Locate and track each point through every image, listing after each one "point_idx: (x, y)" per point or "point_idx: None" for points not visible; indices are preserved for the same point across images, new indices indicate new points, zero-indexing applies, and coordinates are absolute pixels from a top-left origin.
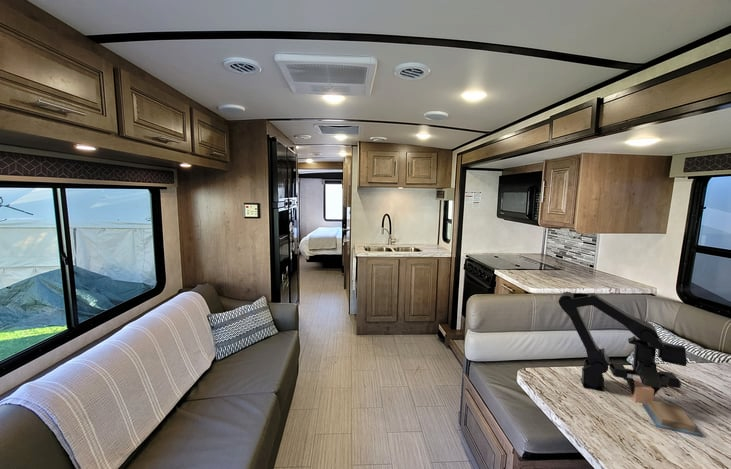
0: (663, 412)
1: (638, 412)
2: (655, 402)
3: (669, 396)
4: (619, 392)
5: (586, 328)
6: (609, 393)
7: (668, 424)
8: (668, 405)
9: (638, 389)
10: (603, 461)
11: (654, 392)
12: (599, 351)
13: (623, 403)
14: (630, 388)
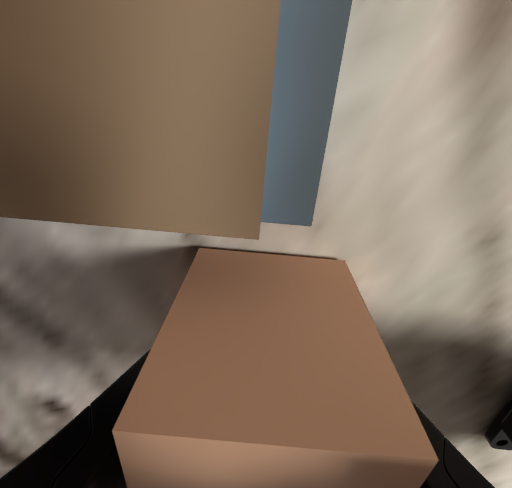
0: None
1: (432, 54)
2: (186, 197)
3: (46, 392)
4: (395, 362)
5: None
6: (505, 332)
7: None
8: (18, 170)
9: (380, 405)
10: None
11: (128, 392)
12: None
13: (489, 206)
14: (416, 410)
